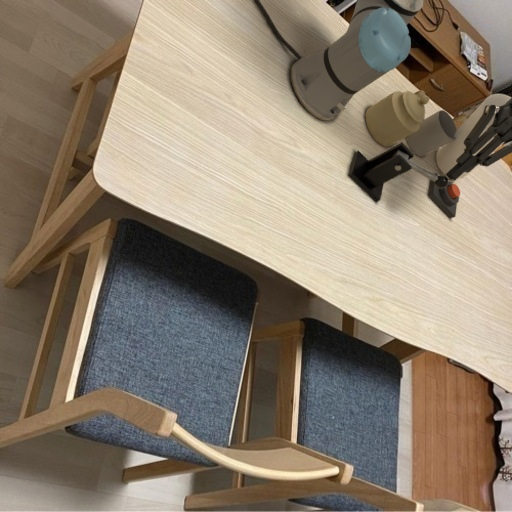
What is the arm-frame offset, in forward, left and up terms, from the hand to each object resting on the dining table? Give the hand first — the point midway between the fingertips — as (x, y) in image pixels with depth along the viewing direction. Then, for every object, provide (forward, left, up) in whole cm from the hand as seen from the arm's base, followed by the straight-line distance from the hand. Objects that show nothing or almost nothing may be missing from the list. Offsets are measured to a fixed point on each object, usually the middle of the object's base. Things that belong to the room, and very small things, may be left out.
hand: (450, 177), depth 127 cm
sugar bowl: (-11, +21, -16) cm, 28 cm away
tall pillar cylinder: (+17, +30, -13) cm, 37 cm away
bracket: (-11, 0, -16) cm, 19 cm away
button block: (+16, +17, -16) cm, 28 cm away
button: (+16, +17, -13) cm, 27 cm away
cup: (+3, +27, -16) cm, 31 cm away
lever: (-5, 0, -5) cm, 7 cm away
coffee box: (+16, +41, -16) cm, 47 cm away
